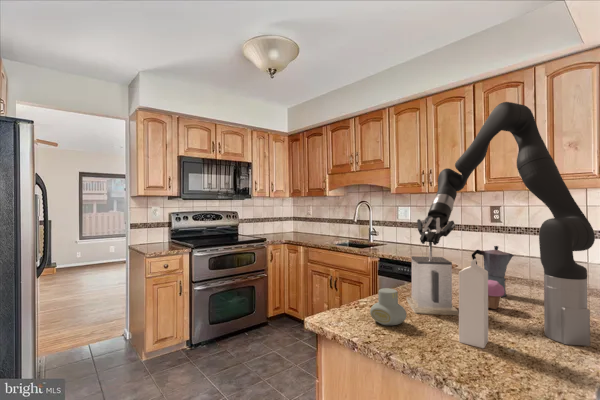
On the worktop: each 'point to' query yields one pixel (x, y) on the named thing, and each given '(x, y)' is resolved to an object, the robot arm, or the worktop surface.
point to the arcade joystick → (431, 286)
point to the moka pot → (495, 264)
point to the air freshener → (388, 308)
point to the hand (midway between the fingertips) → (428, 242)
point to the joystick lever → (429, 238)
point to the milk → (473, 305)
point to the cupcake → (494, 293)
